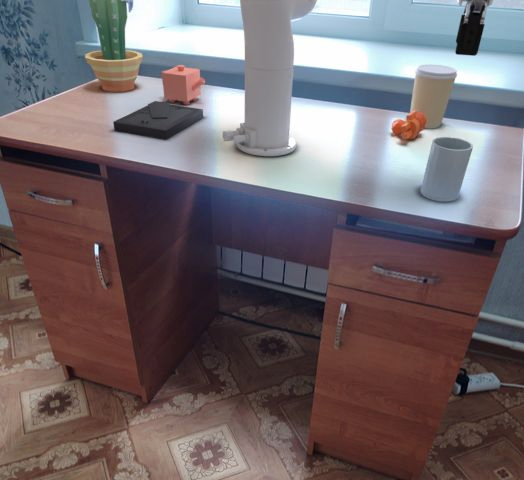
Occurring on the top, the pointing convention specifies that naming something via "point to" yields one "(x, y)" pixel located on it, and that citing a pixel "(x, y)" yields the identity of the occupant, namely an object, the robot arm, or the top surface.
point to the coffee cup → (432, 92)
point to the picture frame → (158, 120)
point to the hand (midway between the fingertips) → (465, 49)
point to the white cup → (446, 168)
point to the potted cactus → (113, 46)
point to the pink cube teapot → (182, 84)
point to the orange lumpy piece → (410, 125)
